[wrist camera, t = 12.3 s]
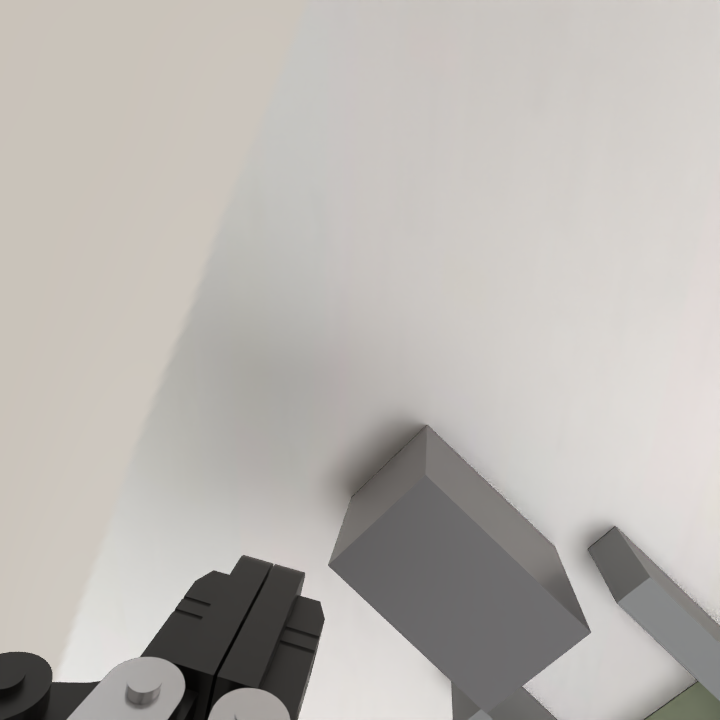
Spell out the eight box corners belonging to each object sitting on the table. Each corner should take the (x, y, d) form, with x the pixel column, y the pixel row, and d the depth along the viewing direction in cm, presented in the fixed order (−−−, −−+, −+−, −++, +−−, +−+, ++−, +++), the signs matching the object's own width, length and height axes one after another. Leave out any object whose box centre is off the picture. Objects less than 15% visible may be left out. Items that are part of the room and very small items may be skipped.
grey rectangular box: (351, 496, 26) (327, 565, 20) (427, 424, 25) (425, 474, 19) (474, 612, 26) (486, 713, 20) (554, 545, 25) (591, 632, 19)
